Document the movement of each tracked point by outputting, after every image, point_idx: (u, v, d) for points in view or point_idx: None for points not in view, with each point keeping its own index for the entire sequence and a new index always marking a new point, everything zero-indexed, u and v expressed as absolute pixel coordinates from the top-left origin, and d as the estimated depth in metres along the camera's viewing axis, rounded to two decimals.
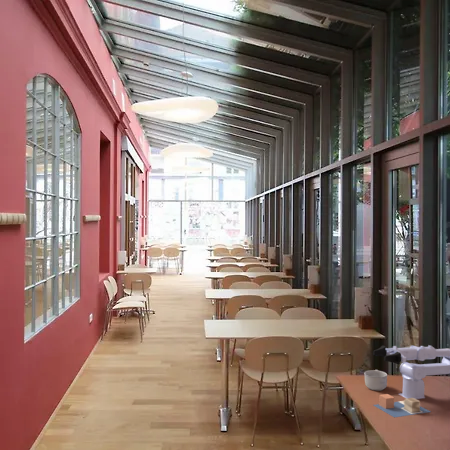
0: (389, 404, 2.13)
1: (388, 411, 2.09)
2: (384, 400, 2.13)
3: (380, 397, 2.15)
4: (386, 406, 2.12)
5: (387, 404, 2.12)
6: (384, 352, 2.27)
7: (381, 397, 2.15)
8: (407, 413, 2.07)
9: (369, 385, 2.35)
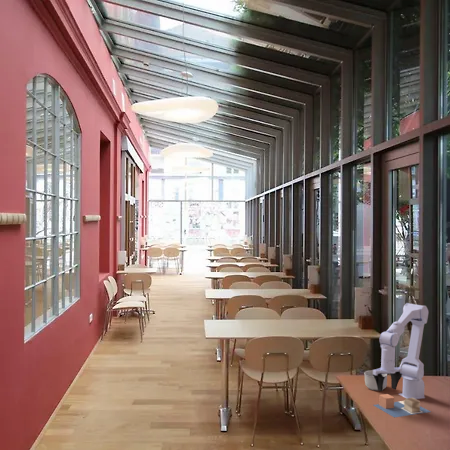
0: (389, 404, 2.13)
1: (388, 411, 2.09)
2: (384, 400, 2.13)
3: (380, 397, 2.15)
4: (386, 406, 2.12)
5: (387, 404, 2.12)
6: None
7: (381, 397, 2.15)
8: (407, 413, 2.07)
9: (369, 385, 2.35)
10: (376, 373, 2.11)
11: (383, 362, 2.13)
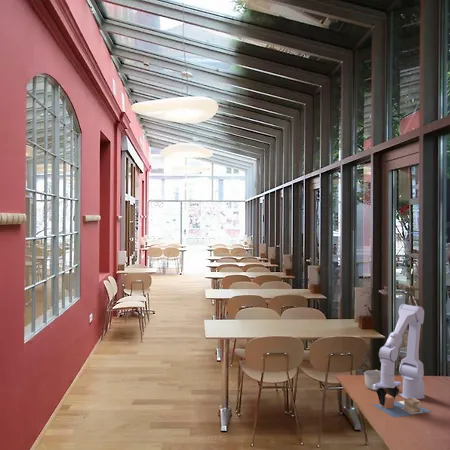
0: (389, 404, 2.13)
1: (388, 411, 2.09)
2: None
3: None
4: (386, 406, 2.12)
5: (387, 404, 2.12)
6: None
7: None
8: (407, 413, 2.07)
9: (369, 385, 2.35)
10: (376, 388, 2.11)
11: (382, 377, 2.13)
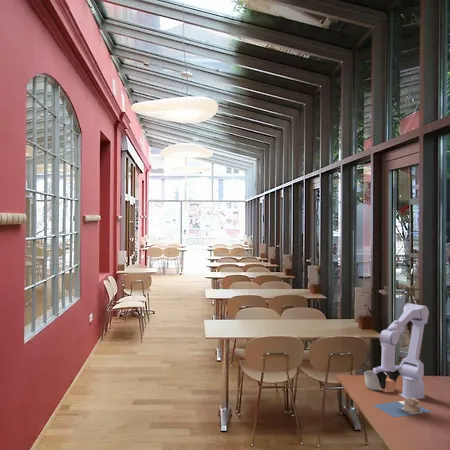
0: (390, 388, 2.13)
1: (388, 411, 2.09)
2: (385, 384, 2.13)
3: None
4: (386, 390, 2.12)
5: (388, 388, 2.12)
6: None
7: None
8: (407, 413, 2.07)
9: (369, 385, 2.35)
10: (376, 371, 2.11)
11: (383, 360, 2.13)
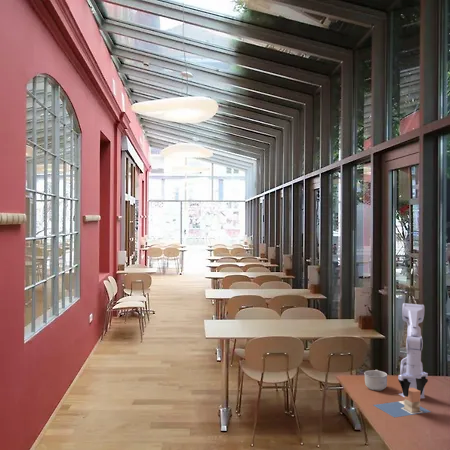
0: (416, 398, 2.09)
1: (388, 411, 2.09)
2: (410, 394, 2.09)
3: None
4: (412, 400, 2.08)
5: (413, 398, 2.08)
6: None
7: None
8: (407, 413, 2.07)
9: (369, 385, 2.35)
10: (402, 378, 2.08)
11: (409, 367, 2.09)
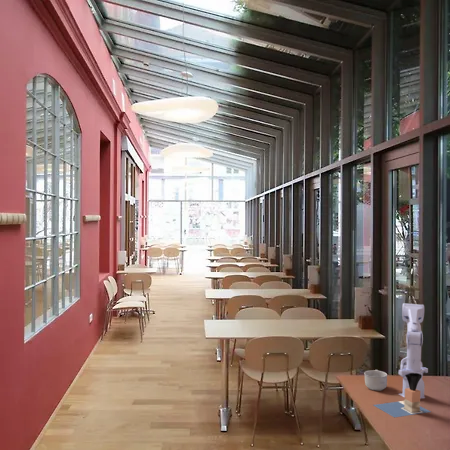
0: (416, 398, 2.09)
1: (388, 411, 2.09)
2: (410, 394, 2.09)
3: (406, 391, 2.11)
4: (412, 400, 2.08)
5: (413, 398, 2.08)
6: None
7: (407, 391, 2.11)
8: (407, 413, 2.07)
9: (369, 385, 2.35)
10: (402, 373, 2.08)
11: (409, 362, 2.09)
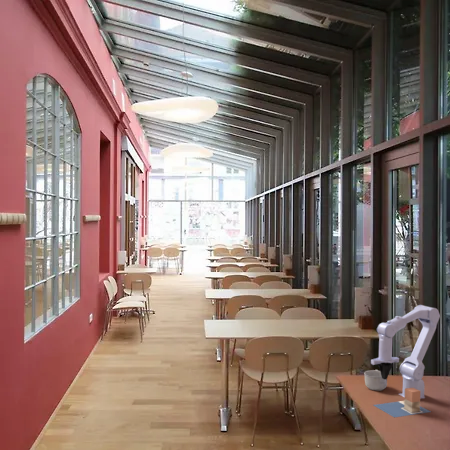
0: (416, 398, 2.09)
1: (388, 411, 2.09)
2: (410, 394, 2.09)
3: (406, 391, 2.11)
4: (412, 400, 2.08)
5: (413, 398, 2.08)
6: None
7: (407, 391, 2.11)
8: (407, 413, 2.07)
9: (369, 385, 2.35)
10: (374, 363, 2.19)
11: (381, 352, 2.21)
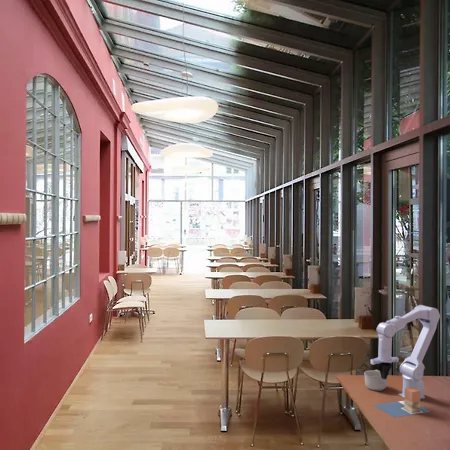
0: (416, 398, 2.09)
1: (388, 411, 2.09)
2: (410, 394, 2.09)
3: (406, 391, 2.11)
4: (412, 400, 2.08)
5: (413, 398, 2.08)
6: None
7: (407, 391, 2.11)
8: (407, 413, 2.07)
9: (369, 385, 2.35)
10: (373, 362, 2.19)
11: (380, 352, 2.21)
